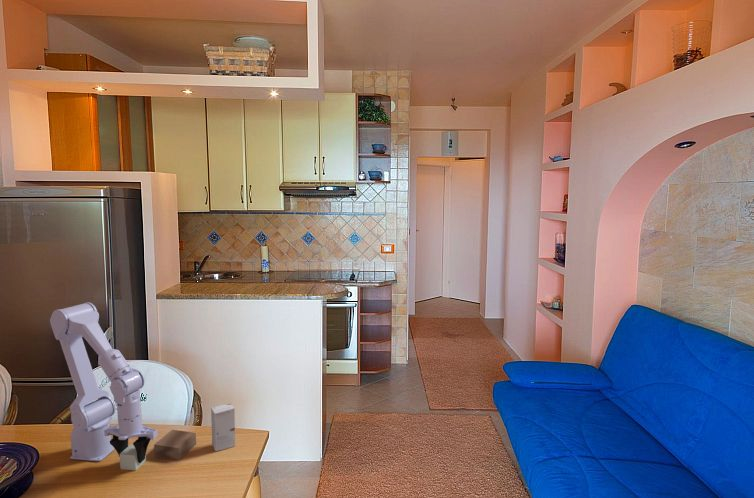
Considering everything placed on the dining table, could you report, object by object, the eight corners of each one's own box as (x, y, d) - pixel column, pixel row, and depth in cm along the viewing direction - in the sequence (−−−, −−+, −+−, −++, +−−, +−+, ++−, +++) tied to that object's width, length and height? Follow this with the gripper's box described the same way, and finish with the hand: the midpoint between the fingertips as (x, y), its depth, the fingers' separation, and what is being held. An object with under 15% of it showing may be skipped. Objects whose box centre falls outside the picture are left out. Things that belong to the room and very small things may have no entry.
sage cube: (120, 469, 123) (119, 454, 122) (131, 459, 127) (130, 444, 126) (135, 470, 122) (134, 455, 121) (146, 460, 127) (144, 445, 126)
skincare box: (215, 452, 131) (213, 414, 129) (211, 444, 134) (209, 407, 133) (236, 445, 134) (235, 408, 132) (232, 438, 138) (230, 402, 136)
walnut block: (155, 457, 129) (154, 444, 128) (173, 441, 136) (172, 429, 136) (179, 460, 127) (178, 448, 126) (196, 444, 135) (195, 432, 134)
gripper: (94, 420, 119) (98, 467, 121) (145, 424, 118) (148, 471, 120) (112, 407, 126) (116, 451, 128) (160, 410, 125) (163, 455, 127)
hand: (133, 460), depth 124 cm, fingers closed on sage cube, 4 cm apart
